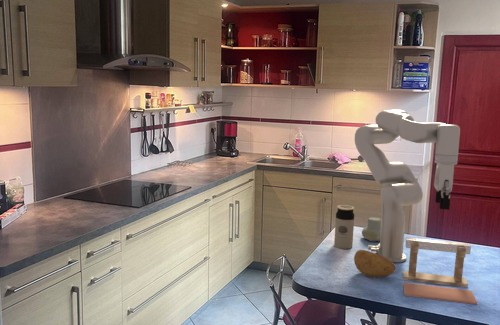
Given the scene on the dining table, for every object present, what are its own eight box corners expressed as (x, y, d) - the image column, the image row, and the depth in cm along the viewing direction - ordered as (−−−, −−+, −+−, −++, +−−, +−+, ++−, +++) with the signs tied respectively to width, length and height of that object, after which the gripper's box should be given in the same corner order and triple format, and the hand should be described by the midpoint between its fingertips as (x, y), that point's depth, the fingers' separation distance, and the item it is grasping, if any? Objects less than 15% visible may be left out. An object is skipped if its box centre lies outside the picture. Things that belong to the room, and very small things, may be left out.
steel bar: (406, 247, 177) (406, 239, 177) (405, 245, 180) (406, 237, 180) (470, 254, 172) (470, 246, 171) (468, 251, 175) (469, 243, 174)
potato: (388, 285, 172) (390, 261, 171) (349, 274, 182) (350, 251, 180) (397, 278, 179) (399, 254, 178) (358, 267, 188) (360, 245, 187)
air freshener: (388, 240, 223) (389, 219, 222) (380, 244, 217) (382, 223, 215) (366, 235, 230) (367, 214, 228) (358, 239, 224) (359, 218, 222)
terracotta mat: (404, 295, 165) (404, 293, 164) (403, 284, 174) (403, 282, 174) (477, 304, 159) (477, 302, 159) (471, 292, 169) (471, 290, 168)
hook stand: (403, 279, 178) (406, 242, 175) (402, 273, 184) (405, 237, 181) (467, 287, 173) (471, 248, 170) (464, 280, 178) (468, 243, 176)
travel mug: (338, 242, 219) (341, 203, 216) (355, 245, 214) (357, 206, 211) (331, 246, 212) (333, 207, 209) (347, 250, 208) (350, 210, 205)
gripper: (431, 155, 180) (428, 199, 183) (438, 162, 163) (434, 210, 166) (453, 156, 178) (449, 201, 181) (462, 163, 162) (457, 212, 164)
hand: (442, 205), depth 173 cm, fingers open, 9 cm apart
